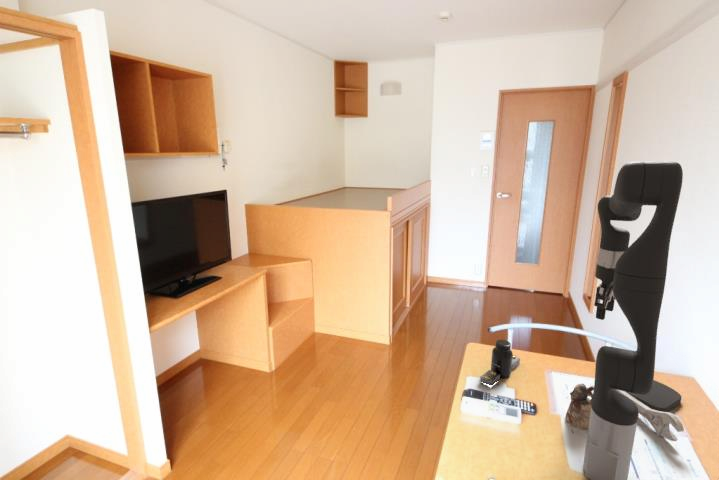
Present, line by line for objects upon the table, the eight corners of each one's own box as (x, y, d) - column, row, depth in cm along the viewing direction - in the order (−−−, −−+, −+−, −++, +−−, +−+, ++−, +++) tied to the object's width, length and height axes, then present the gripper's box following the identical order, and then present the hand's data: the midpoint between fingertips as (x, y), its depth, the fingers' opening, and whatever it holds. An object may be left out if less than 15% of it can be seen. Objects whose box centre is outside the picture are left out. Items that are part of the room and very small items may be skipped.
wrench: (602, 392, 133) (682, 449, 103) (597, 393, 133) (676, 450, 103) (603, 370, 132) (685, 420, 102) (598, 370, 132) (678, 421, 102)
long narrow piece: (490, 388, 131) (491, 380, 131) (480, 383, 134) (480, 375, 134) (519, 364, 145) (520, 357, 145) (509, 360, 148) (509, 353, 148)
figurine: (566, 410, 120) (570, 375, 117) (593, 418, 117) (598, 382, 114) (564, 424, 114) (568, 387, 111) (592, 432, 111) (598, 395, 108)
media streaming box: (661, 417, 117) (663, 408, 116) (610, 392, 129) (611, 383, 128) (685, 401, 124) (686, 393, 123) (634, 378, 136) (635, 371, 135)
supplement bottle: (490, 377, 138) (492, 345, 135) (490, 366, 144) (492, 336, 141) (511, 380, 136) (514, 348, 133) (510, 369, 142) (512, 339, 139)
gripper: (604, 256, 124) (598, 304, 128) (589, 266, 114) (582, 318, 118) (632, 261, 119) (625, 311, 122) (619, 271, 109) (611, 325, 113)
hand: (604, 314), depth 120 cm, fingers open, 8 cm apart
